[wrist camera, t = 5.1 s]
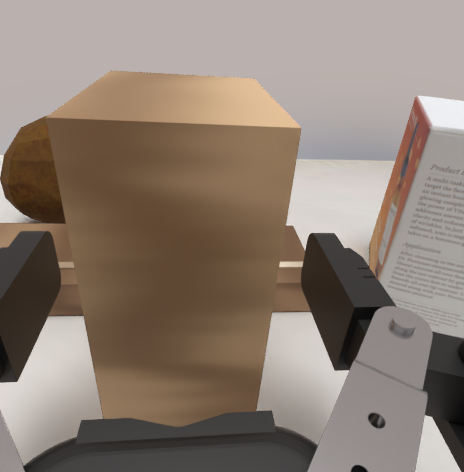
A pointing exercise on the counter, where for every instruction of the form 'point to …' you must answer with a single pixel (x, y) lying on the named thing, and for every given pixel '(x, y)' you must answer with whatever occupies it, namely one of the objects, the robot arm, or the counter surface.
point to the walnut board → (69, 298)
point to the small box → (426, 218)
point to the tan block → (175, 236)
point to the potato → (32, 175)
